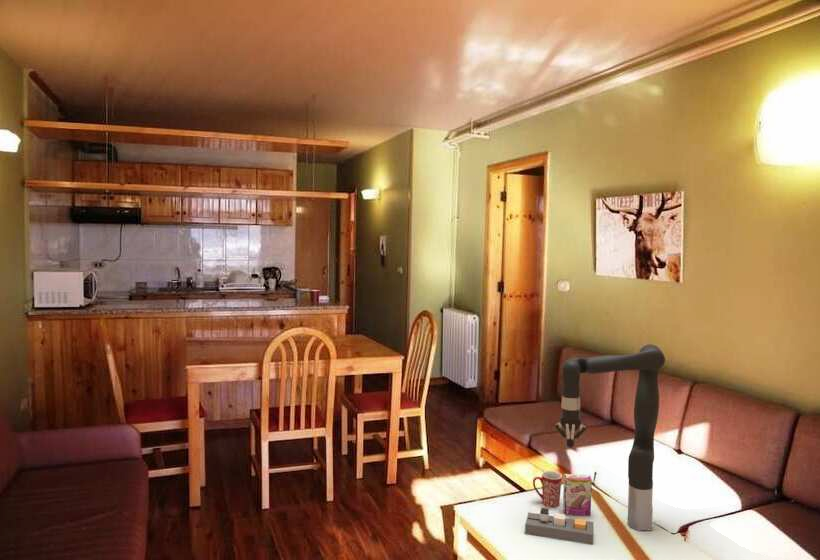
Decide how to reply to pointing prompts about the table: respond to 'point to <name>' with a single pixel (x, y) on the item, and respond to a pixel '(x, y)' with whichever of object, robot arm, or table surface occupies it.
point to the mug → (550, 488)
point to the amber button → (580, 524)
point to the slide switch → (544, 514)
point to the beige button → (559, 519)
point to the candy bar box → (577, 494)
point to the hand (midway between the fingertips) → (570, 447)
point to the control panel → (558, 529)
